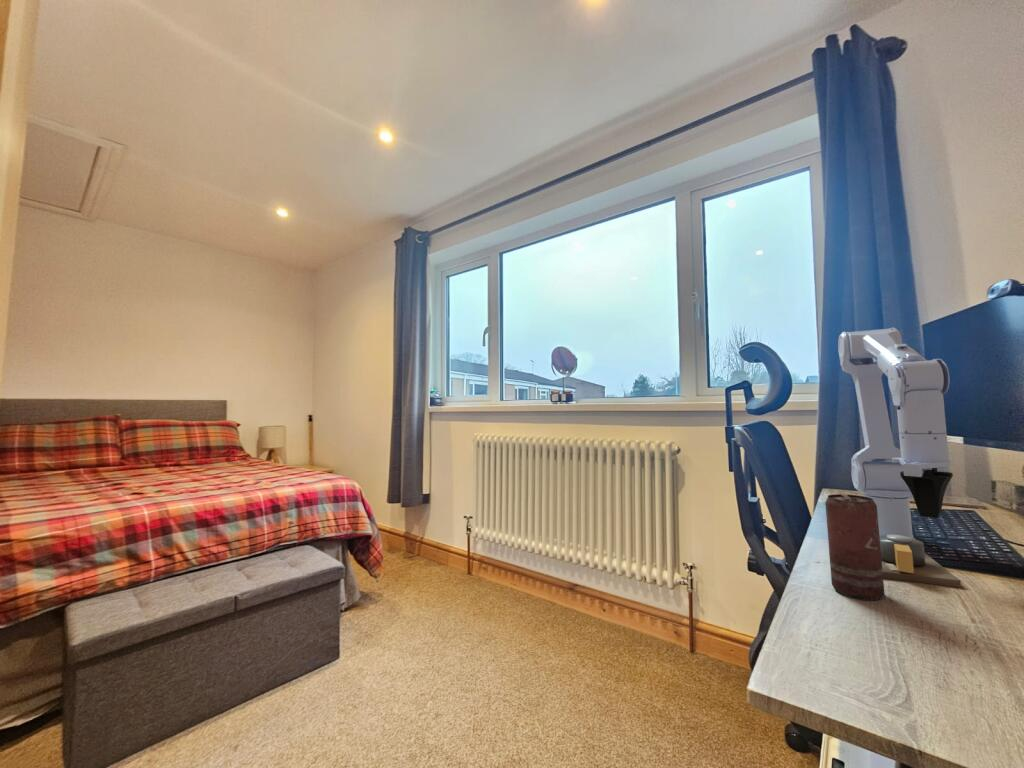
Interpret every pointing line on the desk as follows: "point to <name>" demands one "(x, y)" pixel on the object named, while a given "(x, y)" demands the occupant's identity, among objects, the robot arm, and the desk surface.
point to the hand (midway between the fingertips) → (929, 516)
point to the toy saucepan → (902, 551)
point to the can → (854, 546)
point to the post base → (922, 573)
